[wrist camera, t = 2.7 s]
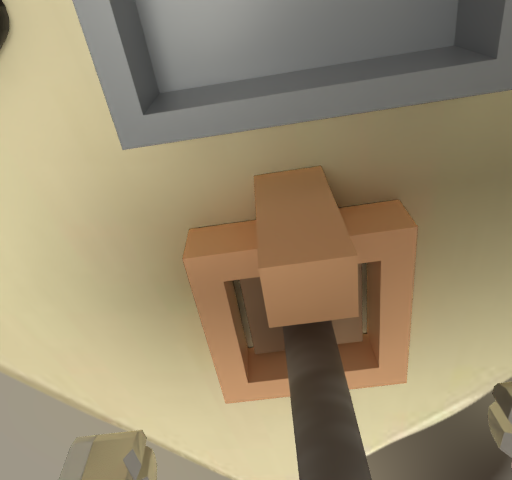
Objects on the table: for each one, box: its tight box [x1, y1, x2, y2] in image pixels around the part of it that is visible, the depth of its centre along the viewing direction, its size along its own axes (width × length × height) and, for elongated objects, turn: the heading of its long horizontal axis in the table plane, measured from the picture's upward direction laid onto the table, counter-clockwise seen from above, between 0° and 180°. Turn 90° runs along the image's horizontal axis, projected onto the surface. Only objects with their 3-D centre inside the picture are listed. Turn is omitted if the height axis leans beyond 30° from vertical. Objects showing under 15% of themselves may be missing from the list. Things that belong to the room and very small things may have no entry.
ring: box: [183, 166, 418, 404], centre depth 19 cm, size 10×12×7 cm
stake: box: [239, 263, 372, 480], centre depth 17 cm, size 6×6×12 cm
